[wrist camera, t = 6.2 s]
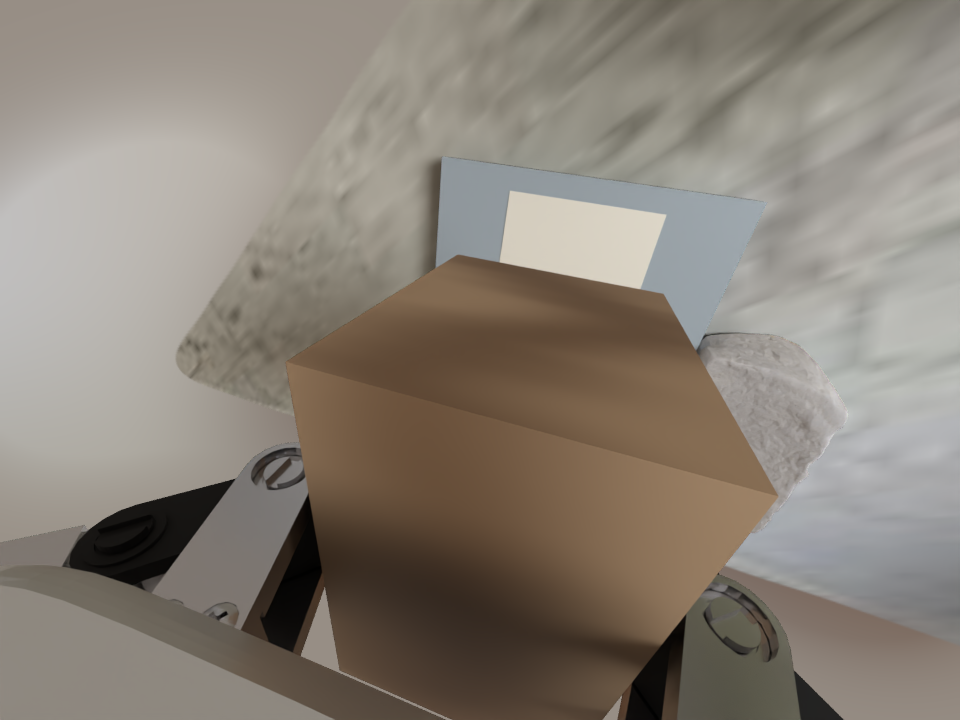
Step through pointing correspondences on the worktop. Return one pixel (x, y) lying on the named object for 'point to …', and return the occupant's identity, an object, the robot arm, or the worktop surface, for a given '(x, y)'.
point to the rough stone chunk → (775, 404)
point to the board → (598, 231)
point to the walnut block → (516, 488)
